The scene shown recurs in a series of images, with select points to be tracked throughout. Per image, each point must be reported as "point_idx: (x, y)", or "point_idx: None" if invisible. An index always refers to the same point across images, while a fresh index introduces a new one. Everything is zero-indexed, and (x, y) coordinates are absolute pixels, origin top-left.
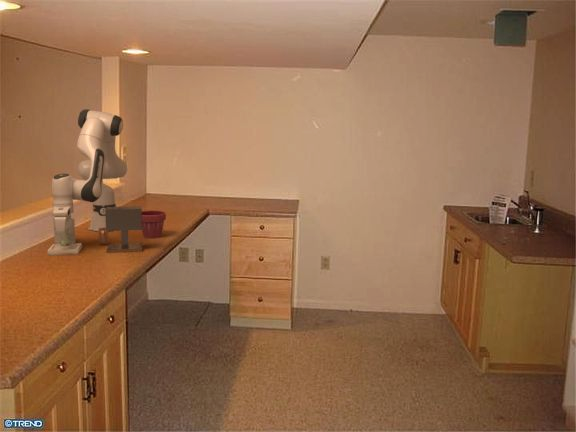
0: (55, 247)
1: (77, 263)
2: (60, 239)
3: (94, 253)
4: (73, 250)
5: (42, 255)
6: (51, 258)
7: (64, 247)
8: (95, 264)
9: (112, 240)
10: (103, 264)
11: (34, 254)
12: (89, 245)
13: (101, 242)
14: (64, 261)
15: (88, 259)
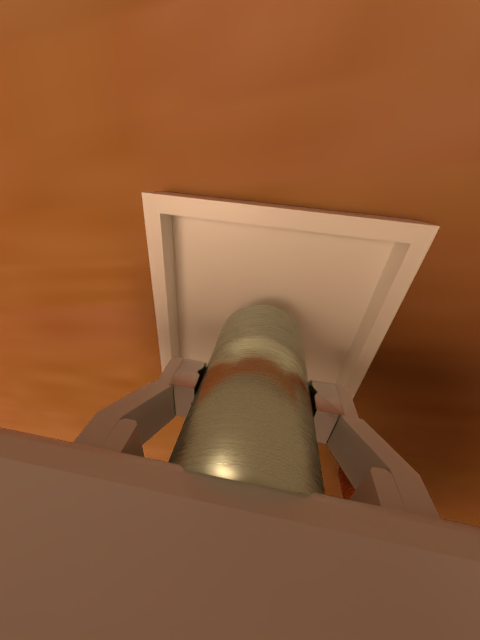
0: (380, 245)
1: (3, 356)
2: (226, 344)
3: (182, 423)
4: (164, 367)
5: (158, 138)
6: (70, 229)
7: (342, 315)
8: (10, 405)
9: (437, 507)
10: (18, 422)
11: (209, 20)
12: (376, 429)
13: (348, 481)
14: (20, 306)
15: (76, 395)
